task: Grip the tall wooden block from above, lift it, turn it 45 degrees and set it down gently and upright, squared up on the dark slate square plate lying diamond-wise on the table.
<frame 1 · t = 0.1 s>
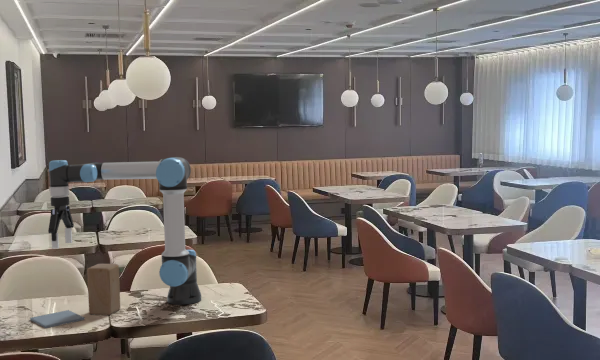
hand: (62, 245, 285), 28 cm above the table, tool pointing down, fingers open, 13 cm apart
wooden block: (105, 312, 281), on the table
slate plate: (57, 319, 271), on the table
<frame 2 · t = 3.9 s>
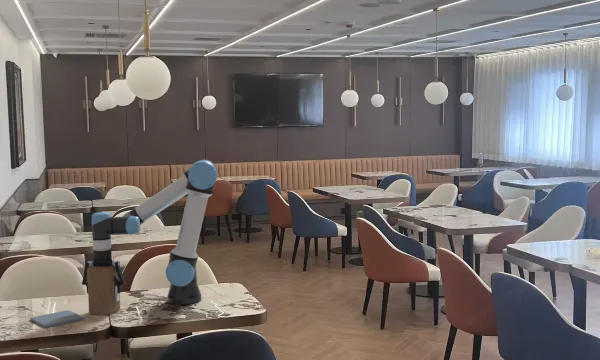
hand: (104, 300, 281), 5 cm above the table, tool pointing down, fingers closed on wooden block, 11 cm apart
wooden block: (104, 312, 281), on the table, touching gripper
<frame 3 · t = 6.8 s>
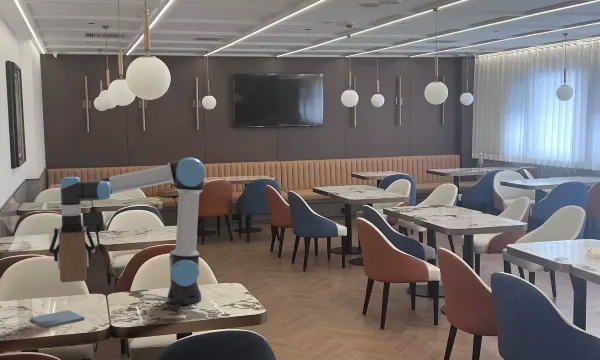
hand: (73, 267, 274), 21 cm above the table, tool pointing down, fingers closed on wooden block, 10 cm apart
wooden block: (73, 280, 274), point 15 cm above the table, touching gripper
when the fingers open (6 cm above the table, at t = 10.1 s): wooden block stays where it is, resting on slate plate.
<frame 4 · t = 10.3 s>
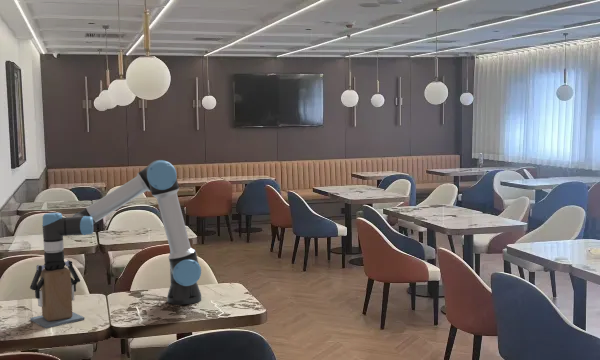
hand: (56, 303, 271), 7 cm above the table, tool pointing down, fingers open, 12 cm apart
wooden block: (57, 318, 271), point 1 cm above the table, touching slate plate
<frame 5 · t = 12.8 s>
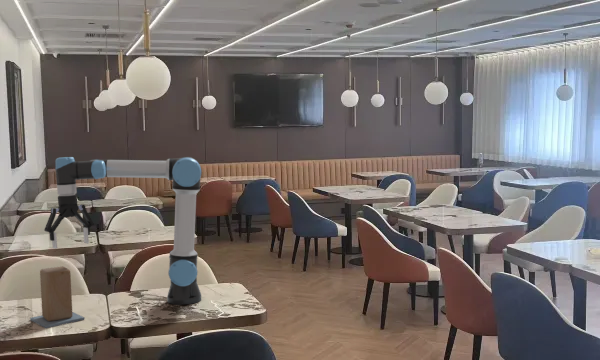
hand: (71, 245, 275), 29 cm above the table, tool pointing down, fingers open, 13 cm apart
nothing on the table moved.
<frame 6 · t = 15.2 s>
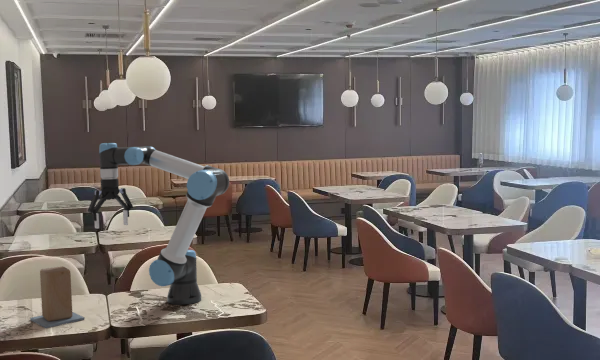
hand: (111, 226, 292), 35 cm above the table, tool pointing down, fingers open, 13 cm apart
nothing on the table moved.
at the end: wooden block inside the target area on the slate plate (0.1 cm from its centre), point 0.8 cm above the slate plate's base; wooden block tilted 0°; the gripper is holding nothing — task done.
